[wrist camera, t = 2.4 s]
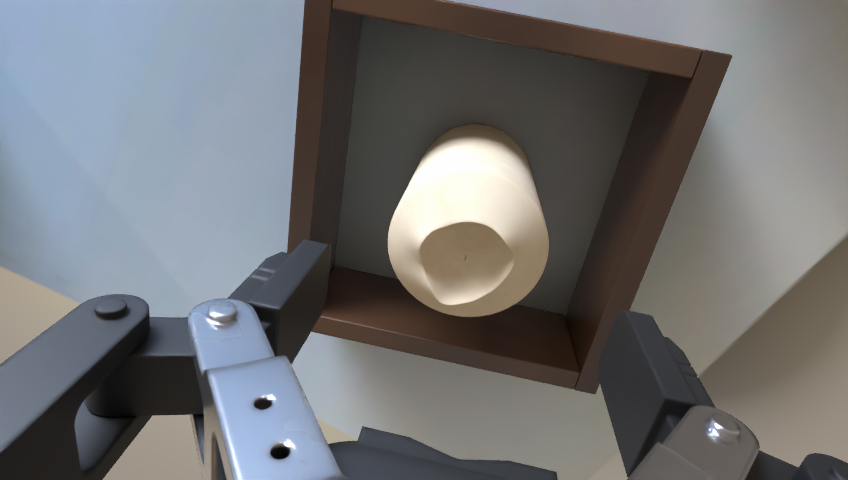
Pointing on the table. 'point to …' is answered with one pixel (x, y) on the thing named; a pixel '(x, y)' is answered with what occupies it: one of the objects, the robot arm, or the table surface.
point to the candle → (470, 225)
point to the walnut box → (614, 235)
